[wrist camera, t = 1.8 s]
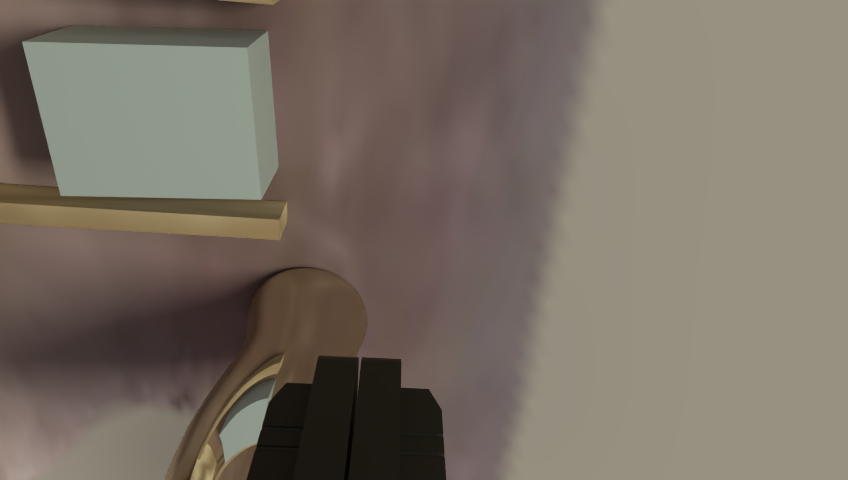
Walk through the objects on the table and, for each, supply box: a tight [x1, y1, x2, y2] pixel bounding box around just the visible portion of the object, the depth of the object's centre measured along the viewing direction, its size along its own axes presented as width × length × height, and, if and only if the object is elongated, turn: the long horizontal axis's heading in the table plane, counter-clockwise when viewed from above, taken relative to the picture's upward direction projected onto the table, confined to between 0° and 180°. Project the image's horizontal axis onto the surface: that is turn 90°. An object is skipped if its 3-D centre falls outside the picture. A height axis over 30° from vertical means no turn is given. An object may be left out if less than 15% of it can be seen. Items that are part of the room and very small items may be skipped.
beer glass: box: [165, 268, 368, 480], centre depth 26 cm, size 7×7×15 cm
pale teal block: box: [22, 25, 278, 200], centre depth 26 cm, size 6×8×4 cm
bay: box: [0, 0, 287, 240], centre depth 24 cm, size 11×17×7 cm, turn 86°
